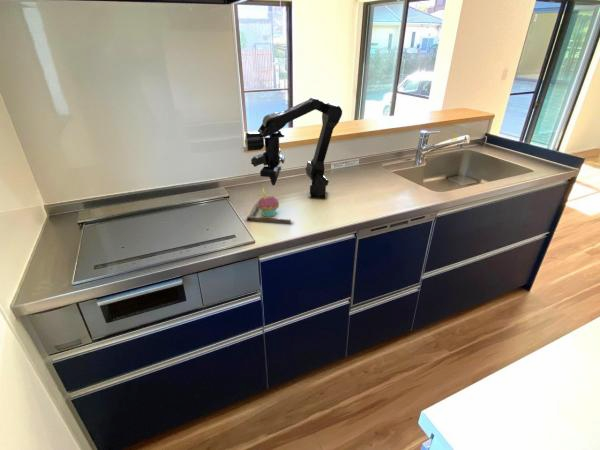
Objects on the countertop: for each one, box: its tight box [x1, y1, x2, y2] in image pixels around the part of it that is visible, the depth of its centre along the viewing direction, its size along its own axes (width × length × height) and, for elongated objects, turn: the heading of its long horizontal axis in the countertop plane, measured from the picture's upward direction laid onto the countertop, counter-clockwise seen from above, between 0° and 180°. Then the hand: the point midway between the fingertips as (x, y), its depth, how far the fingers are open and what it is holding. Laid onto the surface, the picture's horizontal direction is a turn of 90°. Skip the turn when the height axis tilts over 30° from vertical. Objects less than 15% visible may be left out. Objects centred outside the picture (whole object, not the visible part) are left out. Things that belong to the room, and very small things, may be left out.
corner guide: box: [246, 202, 292, 225], centre depth 137 cm, size 17×13×2 cm
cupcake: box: [257, 186, 280, 218], centre depth 135 cm, size 9×8×12 cm
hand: (273, 184), depth 144 cm, fingers closed
